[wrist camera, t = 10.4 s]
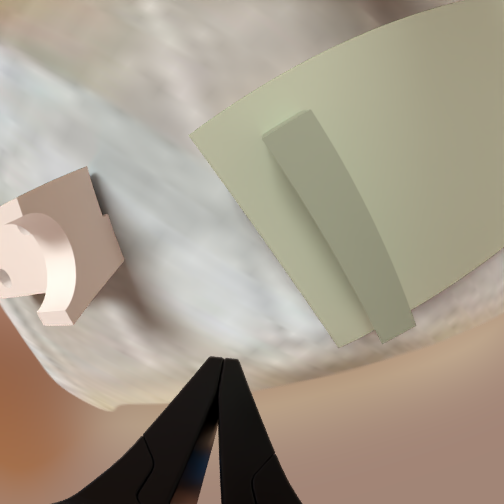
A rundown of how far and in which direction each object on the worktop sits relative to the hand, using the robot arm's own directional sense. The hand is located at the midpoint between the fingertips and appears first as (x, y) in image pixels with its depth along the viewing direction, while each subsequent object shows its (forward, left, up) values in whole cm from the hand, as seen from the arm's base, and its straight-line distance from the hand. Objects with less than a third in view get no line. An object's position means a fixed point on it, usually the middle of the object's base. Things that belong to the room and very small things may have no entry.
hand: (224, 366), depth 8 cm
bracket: (-8, -13, -12) cm, 19 cm away
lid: (0, +14, -6) cm, 16 cm away
